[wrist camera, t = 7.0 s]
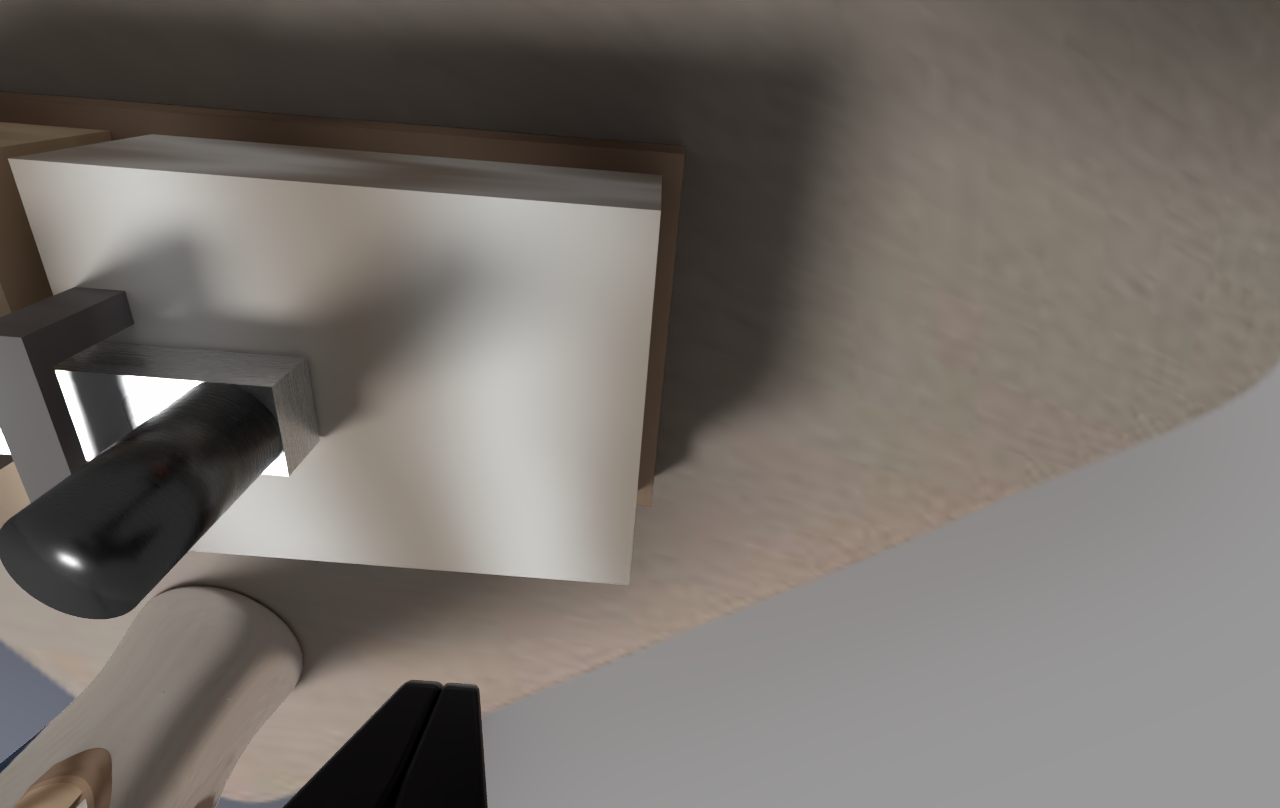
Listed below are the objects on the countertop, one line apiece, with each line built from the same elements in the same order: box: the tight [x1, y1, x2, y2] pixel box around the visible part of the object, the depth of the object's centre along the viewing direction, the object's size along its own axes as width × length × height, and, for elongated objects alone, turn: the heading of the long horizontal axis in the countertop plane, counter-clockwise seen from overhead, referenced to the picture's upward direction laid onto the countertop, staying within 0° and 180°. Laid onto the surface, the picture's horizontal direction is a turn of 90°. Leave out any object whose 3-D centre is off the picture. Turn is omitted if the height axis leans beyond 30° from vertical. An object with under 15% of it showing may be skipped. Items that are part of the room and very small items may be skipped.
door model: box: [0, 91, 685, 585], centre depth 16 cm, size 21×10×8 cm, turn 86°
